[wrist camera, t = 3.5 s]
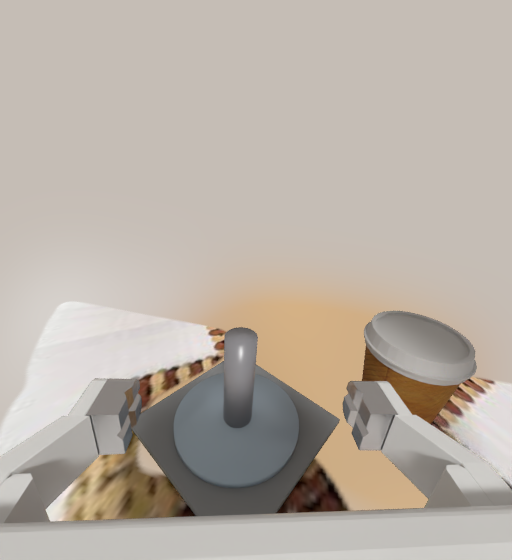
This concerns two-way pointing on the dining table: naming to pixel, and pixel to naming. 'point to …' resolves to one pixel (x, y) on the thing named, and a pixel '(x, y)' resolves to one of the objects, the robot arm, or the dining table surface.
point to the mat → (233, 501)
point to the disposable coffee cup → (417, 359)
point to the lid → (236, 421)
